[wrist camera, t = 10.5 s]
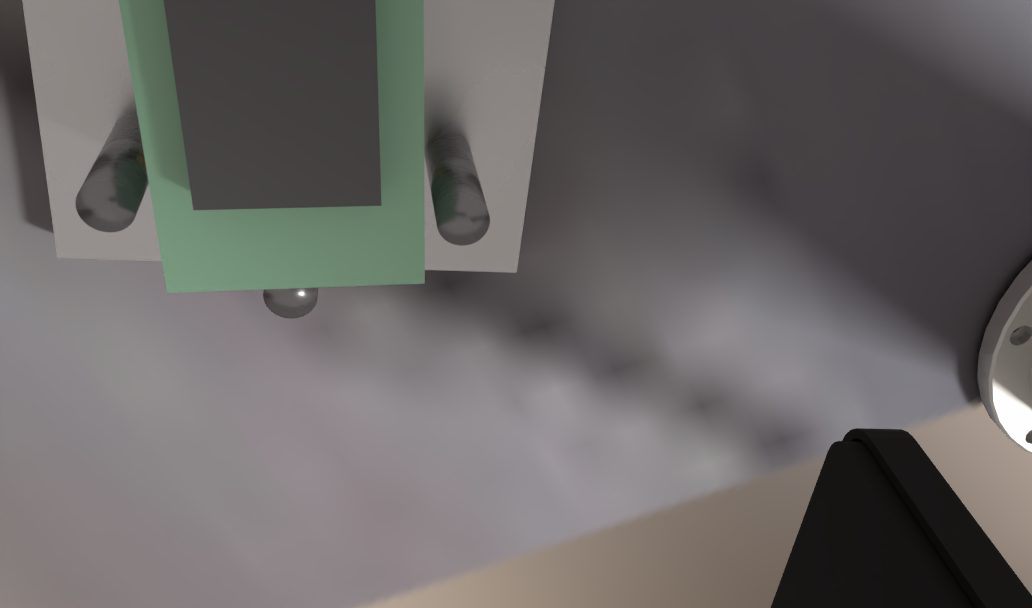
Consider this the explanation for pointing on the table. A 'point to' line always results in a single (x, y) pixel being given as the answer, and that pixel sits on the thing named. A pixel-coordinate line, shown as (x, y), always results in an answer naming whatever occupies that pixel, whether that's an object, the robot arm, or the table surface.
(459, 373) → the table surface
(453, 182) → the chassis
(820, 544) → the robot arm
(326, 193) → the module
